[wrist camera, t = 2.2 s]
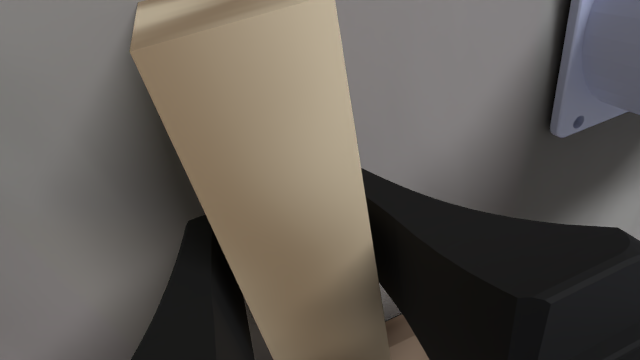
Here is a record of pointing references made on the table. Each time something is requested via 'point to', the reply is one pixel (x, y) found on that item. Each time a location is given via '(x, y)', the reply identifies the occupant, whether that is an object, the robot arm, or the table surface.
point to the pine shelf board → (272, 162)
